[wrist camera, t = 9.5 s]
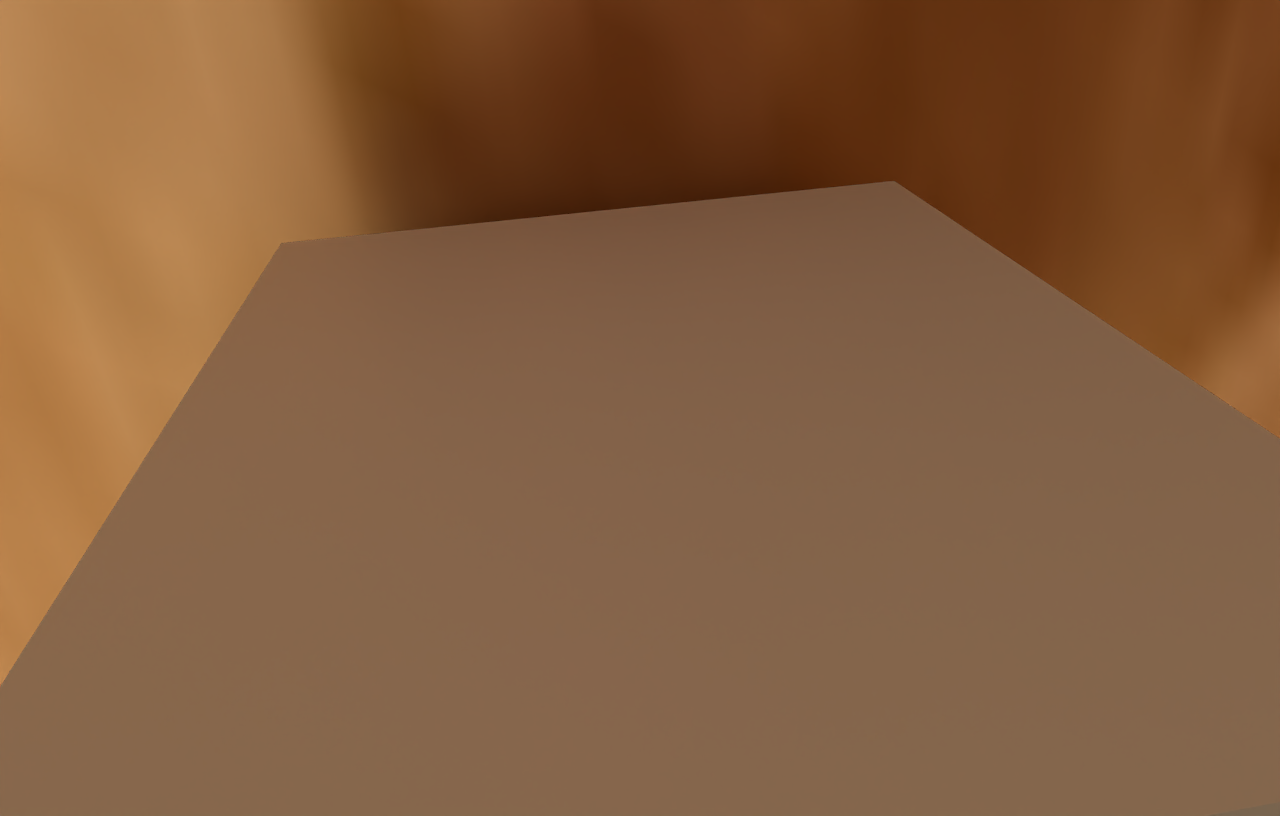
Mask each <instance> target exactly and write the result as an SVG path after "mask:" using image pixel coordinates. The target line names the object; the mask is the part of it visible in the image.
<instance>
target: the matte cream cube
mask: <svg viewBox="0 0 1280 816" xmlns="http://www.w3.org/2000/svg"><path fill="white" fill-rule="evenodd" d="M0 816H1280V439H1279V438H1278V437H1276V436H1275V435H1273V434H1272V433H1270V432H1269V431H1267V430H1266V429H1264V428H1263V427H1262V426H1260V425H1259V424H1257V423H1256V422H1254V421H1253V420H1251V419H1250V418H1248V417H1247V416H1245V415H1244V414H1242V413H1241V412H1239V411H1238V410H1236V409H1235V408H1233V407H1232V406H1230V405H1229V404H1227V403H1226V402H1224V401H1223V400H1221V399H1220V398H1218V397H1217V396H1215V395H1214V394H1212V393H1211V392H1209V391H1208V390H1206V389H1205V388H1203V387H1202V386H1200V385H1199V384H1197V383H1196V382H1194V381H1193V380H1191V379H1190V378H1188V377H1187V376H1185V375H1184V374H1182V373H1181V372H1179V371H1178V370H1176V369H1175V368H1173V367H1172V366H1170V365H1169V364H1167V363H1166V362H1164V361H1163V360H1161V359H1160V358H1158V357H1157V356H1155V355H1154V354H1152V353H1151V352H1149V351H1148V350H1146V349H1145V348H1143V347H1142V346H1140V345H1139V344H1137V343H1136V342H1134V341H1133V340H1131V339H1130V338H1128V337H1127V336H1125V335H1124V334H1122V333H1121V332H1119V331H1118V330H1116V329H1115V328H1113V327H1112V326H1110V325H1109V324H1107V323H1106V322H1105V321H1103V320H1102V319H1100V318H1099V317H1097V316H1096V315H1094V314H1093V313H1091V312H1090V311H1088V310H1087V309H1085V308H1084V307H1082V306H1081V305H1079V304H1078V303H1076V302H1075V301H1073V300H1072V299H1070V298H1069V297H1067V296H1066V295H1064V294H1063V293H1061V292H1060V291H1058V290H1057V289H1055V288H1054V287H1052V286H1051V285H1049V284H1048V283H1046V282H1045V281H1043V280H1042V279H1040V278H1039V277H1037V276H1036V275H1034V274H1033V273H1031V272H1030V271H1028V270H1027V269H1025V268H1024V267H1022V266H1021V265H1019V264H1018V263H1016V262H1015V261H1013V260H1012V259H1010V258H1009V257H1007V256H1006V255H1004V254H1003V253H1001V252H1000V251H998V250H997V249H995V248H994V247H992V246H991V245H989V244H988V243H986V242H985V241H983V240H982V239H980V238H979V237H977V236H976V235H974V234H973V233H971V232H970V231H968V230H967V229H965V228H964V227H962V226H961V225H959V224H958V223H956V222H955V221H953V220H952V219H950V218H949V217H948V216H946V215H945V214H943V213H942V212H940V211H939V210H937V209H936V208H934V207H933V206H931V205H930V204H928V203H927V202H925V201H924V200H922V199H921V198H919V197H918V196H916V195H915V194H913V193H912V192H910V191H909V190H907V189H906V188H904V187H903V186H901V185H900V184H898V183H897V182H895V181H888V182H878V183H869V184H859V185H849V186H839V187H829V188H819V189H809V190H800V191H790V192H780V193H770V194H760V195H750V196H740V197H731V198H721V199H711V200H701V201H691V202H681V203H671V204H662V205H652V206H642V207H632V208H622V209H612V210H603V211H593V212H583V213H573V214H563V215H553V216H543V217H534V218H524V219H514V220H504V221H494V222H484V223H474V224H465V225H455V226H445V227H435V228H425V229H415V230H406V231H396V232H386V233H376V234H366V235H356V236H346V237H337V238H327V239H317V240H307V241H297V242H287V243H281V244H280V246H279V248H278V249H277V251H276V252H275V254H274V255H273V257H272V259H271V260H270V262H269V263H268V265H267V267H266V268H265V270H264V271H263V273H262V274H261V276H260V278H259V279H258V281H257V282H256V284H255V285H254V287H253V289H252V290H251V292H250V293H249V295H248V296H247V298H246V300H245V301H244V303H243V304H242V306H241V308H240V309H239V311H238V312H237V314H236V315H235V317H234V319H233V320H232V322H231V323H230V325H229V326H228V328H227V330H226V331H225V333H224V334H223V336H222V337H221V339H220V341H219V342H218V344H217V345H216V347H215V349H214V350H213V352H212V353H211V355H210V356H209V358H208V360H207V361H206V363H205V364H204V366H203V367H202V369H201V371H200V372H199V374H198V375H197V377H196V379H195V380H194V382H193V383H192V385H191V386H190V388H189V390H188V391H187V393H186V394H185V396H184V397H183V399H182V401H181V402H180V404H179V405H178V407H177V408H176V410H175V412H174V413H173V415H172V416H171V418H170V420H169V421H168V423H167V424H166V426H165V427H164V429H163V431H162V432H161V434H160V435H159V437H158V438H157V440H156V442H155V443H154V445H153V446H152V448H151V449H150V451H149V453H148V454H147V456H146V457H145V459H144V461H143V462H142V464H141V465H140V467H139V468H138V470H137V472H136V473H135V475H134V476H133V478H132V479H131V481H130V483H129V484H128V486H127V487H126V489H125V491H124V492H123V494H122V495H121V497H120V498H119V500H118V502H117V503H116V505H115V506H114V508H113V509H112V511H111V513H110V514H109V516H108V517H107V519H106V520H105V522H104V524H103V525H102V527H101V528H100V530H99V532H98V533H97V535H96V536H95V538H94V539H93V541H92V543H91V544H90V546H89V547H88V549H87V550H86V552H85V554H84V555H83V557H82V558H81V560H80V561H79V563H78V565H77V566H76V568H75V569H74V571H73V573H72V574H71V576H70V577H69V579H68V580H67V582H66V584H65V585H64V587H63V588H62V590H61V591H60V593H59V595H58V596H57V598H56V599H55V601H54V602H53V604H52V606H51V607H50V609H49V610H48V612H47V614H46V615H45V617H44V618H43V620H42V621H41V623H40V625H39V626H38V628H37V629H36V631H35V632H34V634H33V636H32V637H31V639H30V640H29V642H28V644H27V645H26V647H25V648H24V650H23V651H22V653H21V655H20V656H19V658H18V659H17V661H16V662H15V664H14V666H13V667H12V669H11V670H10V672H9V673H8V675H7V677H6V678H5V680H4V681H3V683H2V685H1V686H0Z"/></svg>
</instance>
